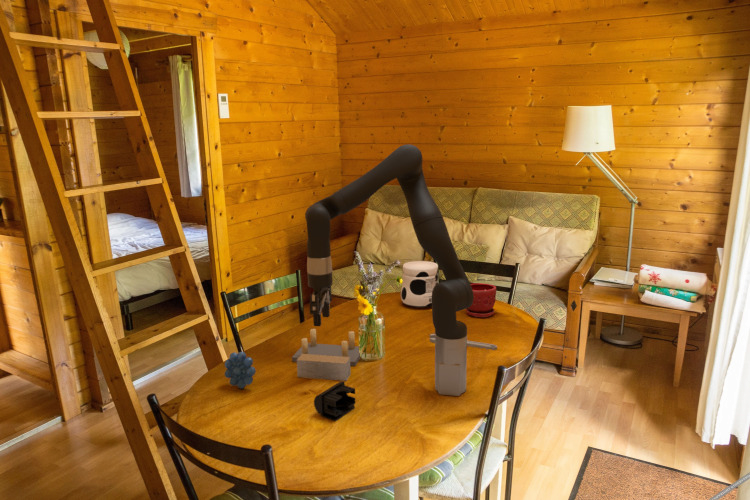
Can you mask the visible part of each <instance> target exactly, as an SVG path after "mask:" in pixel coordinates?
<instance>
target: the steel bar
mask: <svg viewBox="0 0 750 500" xmlns="http://www.w3.org/2000/svg"><path fill="white" fill-rule="evenodd" d="M296 369H297V371H296V372H297V375H296V376H297V378H304V379H317V380H328V381H329V380H330V381H338V382H342V381H343V382H347V381H348V380H349V377H350V376H351V375H352V374H351V370H352V369H351V366H350V357H341V356H327V355H312V354H302V355H301V356H300V357H299V358H298V359H297V362H296Z"/></svg>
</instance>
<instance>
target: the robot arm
mask: <svg viewBox="0 0 750 500" xmlns="http://www.w3.org/2000/svg"><path fill="white" fill-rule="evenodd" d="M423 158H424V157H423V155H422V151H421V150H420V148H419V147H417V146H415V145H413V144H403V145H400V146H399V147H397V148H396V149H394V151H392V152H391V153H389V155H388V156H387V157H385V158H384V159H383V160H382V161H381V162H379V163H378V164H377V165H375V166H374V167H373V168H371V169H369V171H367V172H366V173H364V174H363V175H361V176H360V177H357V179H355V180H353V181H351V182H350V183H349V184H347V185H345V186H343V187H342V188H340V189H339V190H337V191H335V192H334V193H333V194H331V195H329V196H327V197H324V198H323V199H320V200H318V201H316V202H314V203H313V204H311V205H310V206H308V208H307V209H306V211H305V213H304V214H305V215H304V216H305V218H304V219H305V221H306V230H307V242H306V251H307V253H306V255H307V256H306V257H307V260H306V270H307V273H306V274H307V286H308V287H309V288H312V289H313V292H312V294H309V295H308V296H309V297H308V298H309V315H312V317H313V326H314V327H321V326H322V317H323V318H329V317H330V305H331V302H332V301H333V299H332V298H333V297H332V286H333V262H332V261H333V260H332V255H331V254H332V252H331V242H330V238H331V220H333V219H334V218H336V217H338V216H340V215H345V214H347V213H349V212H350V211H352V210H354V209H355V208H358V207H359V206H361V205H362V204H363V203H365V202H366V201H367V200H369V199H371V197H372V196H373V195H374V194H375V193H377V192H378V191H379V190H380V189H382V188H383V187H384V186H386V185H387V184H389V183H390V182H392V181H393V180H395V179H396V181H397V182H398V185H399V186H400V188H401V190H402V193H403V194H404V197H405V200H406V203H407V205H406V206H407V208H408V213H409V217H410V220H411V224H412V227H413V230H414V233H415V236H416V238H417V242H418V244H419V245H420V247H421V248H422V249H423V251H425V252H426V253H427V255H429V257H430V258H432V259H433V260H434V261H435V263H436V264H437V265H438V267H439V268H440V270H441V272H442V273H443V276H444V279H445V280H444V281H440V282H438V284H436V285H435V286H434V288H433V291H432V306H431V316H432V325H433V327H434V334H435V343H434V389H435V391H436V392H438V395H443V396H453V397H455V396H456V397H460V396H461V395H462V394H464V393H465V392H467V363H468V362H467V359H468V358H467V355H468V350H467V348H468V346H467V341H468V327H467V324H466V323H465V322H463V321H461V320H458V319H457V312H461V311H464V310H466V309H467V308H469V307H470V306H471V305H472V303H473V299H474V296H473V290H472V287H471V284H472V283H471V282H470V280H469V278H468V276H467V274H466V272H465V270H464V267H463V266H462V264H461V262H460V260H459V257H458V255H457V252H456V250H455V247H454V244H453V243H452V239H451V236H450V234H449V230H448V227H447V225H446V222H445V220H444V217H443V214H442V212H441V210H440V208H439V207H438V205H437V203H436V202H435V199H434V198H433V196H432V195H431V192H430V191H429V188H428V186H427V182H426V178H425V175H424V170H423V161H424V160H423Z"/></svg>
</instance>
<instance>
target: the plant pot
mask: <svg viewBox="0 0 750 500" xmlns="http://www.w3.org/2000/svg"><path fill="white" fill-rule="evenodd" d="M470 284H471V287H472V290H473V296H474V299H473V303H472V305H471V306H470V307H469V308H467V309H465V313H466V314H467V315H469V316H471V317H475V318H488V317H489V318H490V317H491V316H492V315H494V314H495V312H496V311H495V309H494V306H495V303H496V296H497V286H495V285H494V284H490V283H485V282H484V283H479V282H478V283H470Z"/></svg>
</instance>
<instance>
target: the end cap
mask: <svg viewBox="0 0 750 500" xmlns="http://www.w3.org/2000/svg"><path fill="white" fill-rule="evenodd" d="M345 382H346V381H338V382H337V383H336V384H333V385H332V386H330V387H329V388H327V389H325V390H324V391H322V392H320V393H318V394H317V395H316V396H315V397H314V399H313V405H314V409H315V411H316V412H317V413H318V415H320V416H322V417H323V418H324V419H328V420H329V421H333V422H337V421H339V419H341V418H343V417H344V416H345V415H347V414H349V413H350V412H352V411H353V410H354V409H355V408H356V407H355V404H356V397H353V396H351V395H348V394H352V395H353V394H354V395H355V394H356V388H355V387H351V386H348V385H346V383H345Z"/></svg>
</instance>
